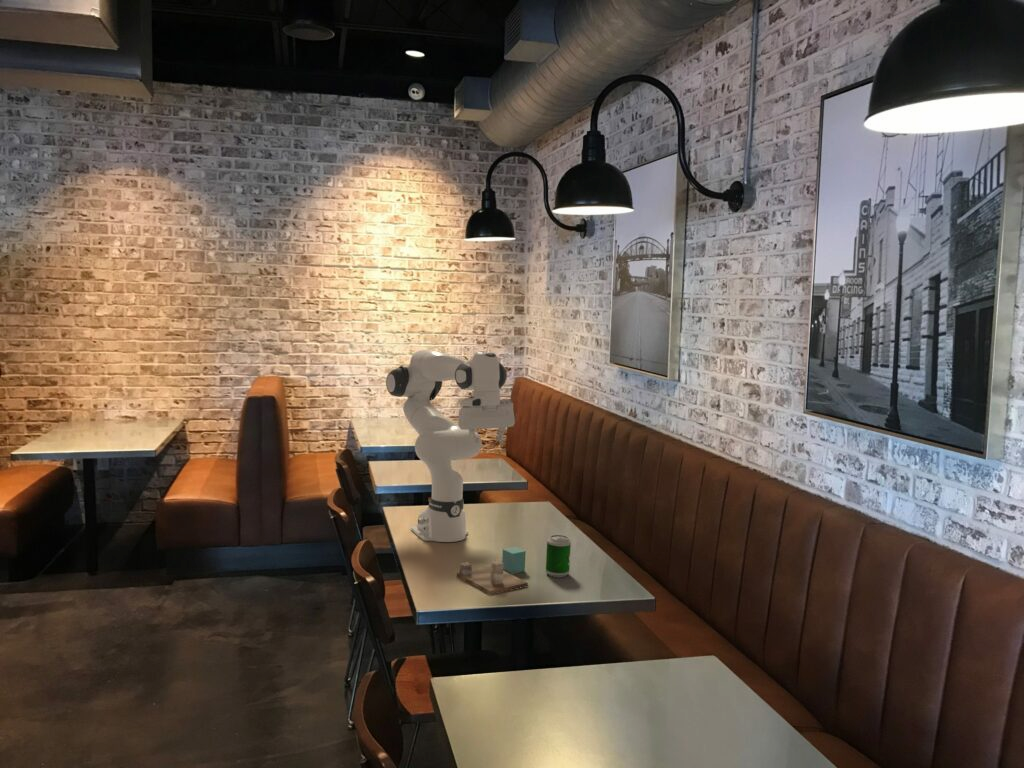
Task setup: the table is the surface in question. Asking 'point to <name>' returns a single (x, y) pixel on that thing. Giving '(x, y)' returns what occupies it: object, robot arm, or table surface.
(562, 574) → the soda can
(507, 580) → the stand
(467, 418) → the robot arm
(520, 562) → the light blue toy cube
